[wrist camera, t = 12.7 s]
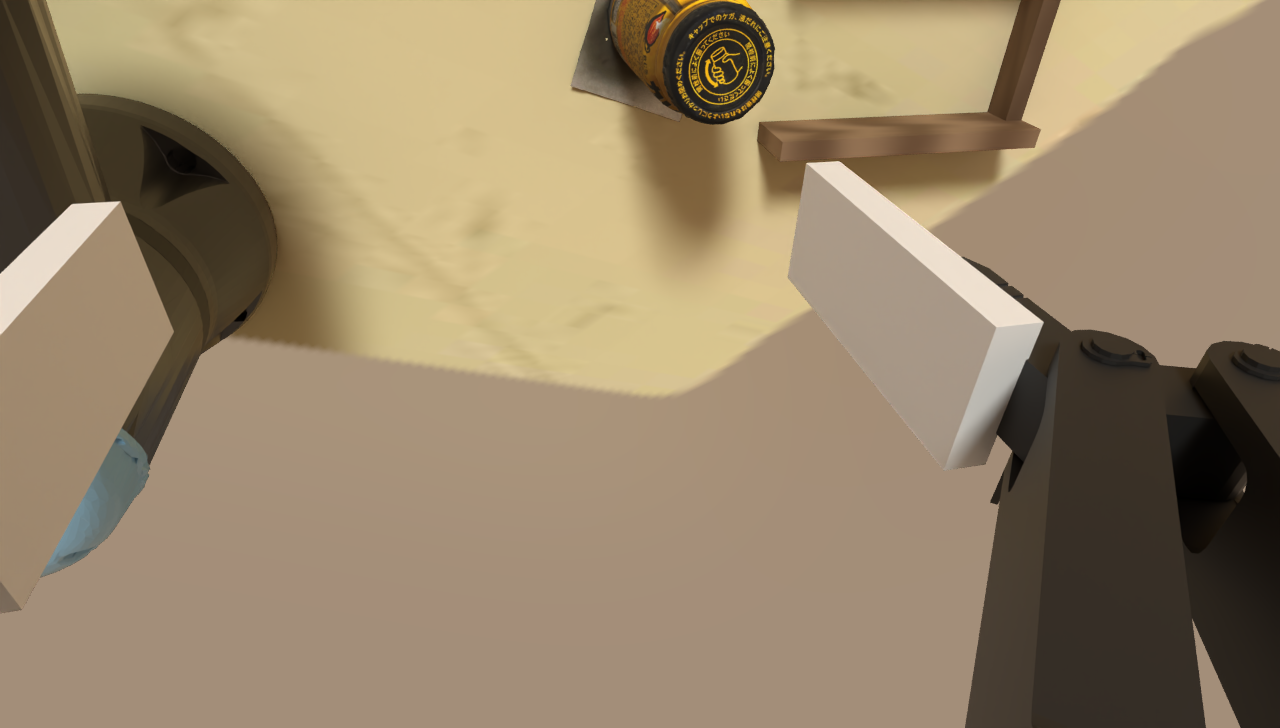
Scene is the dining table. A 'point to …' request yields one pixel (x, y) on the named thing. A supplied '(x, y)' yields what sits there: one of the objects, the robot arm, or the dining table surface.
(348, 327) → the dining table surface
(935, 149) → the walnut shelf lane
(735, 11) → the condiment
